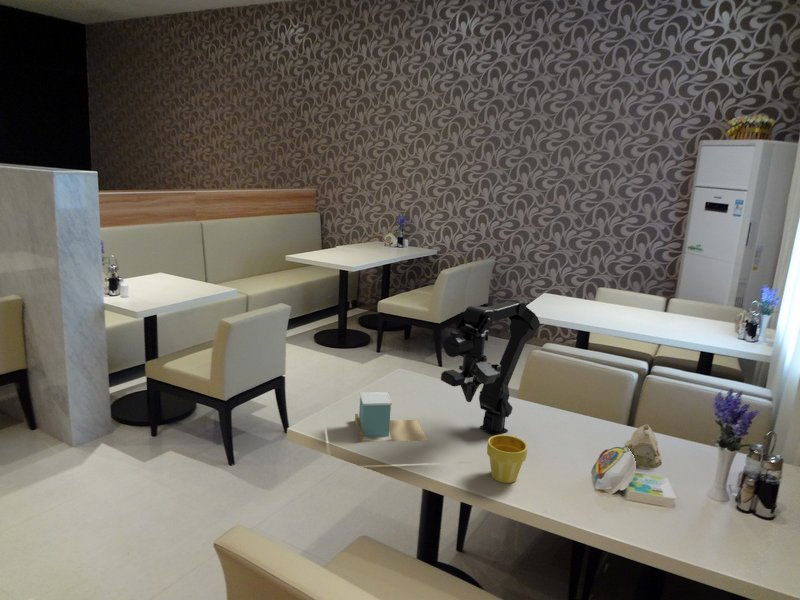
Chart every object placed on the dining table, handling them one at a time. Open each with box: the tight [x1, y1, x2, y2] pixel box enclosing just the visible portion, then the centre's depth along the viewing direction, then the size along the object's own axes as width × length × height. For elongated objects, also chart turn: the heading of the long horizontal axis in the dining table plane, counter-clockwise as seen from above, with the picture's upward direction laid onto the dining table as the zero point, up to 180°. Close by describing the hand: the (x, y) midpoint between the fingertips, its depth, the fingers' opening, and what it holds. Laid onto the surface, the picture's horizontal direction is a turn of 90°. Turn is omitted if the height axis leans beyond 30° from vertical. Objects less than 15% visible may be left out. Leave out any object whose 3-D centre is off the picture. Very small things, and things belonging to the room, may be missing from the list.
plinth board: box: [354, 413, 428, 443], centre depth 174 cm, size 20×14×3 cm
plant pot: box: [486, 434, 528, 484], centre depth 152 cm, size 10×10×10 cm
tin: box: [358, 391, 393, 437], centre depth 172 cm, size 8×8×11 cm
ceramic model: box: [624, 424, 663, 468], centre depth 169 cm, size 14×11×10 cm
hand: (468, 401), depth 168 cm, fingers closed
